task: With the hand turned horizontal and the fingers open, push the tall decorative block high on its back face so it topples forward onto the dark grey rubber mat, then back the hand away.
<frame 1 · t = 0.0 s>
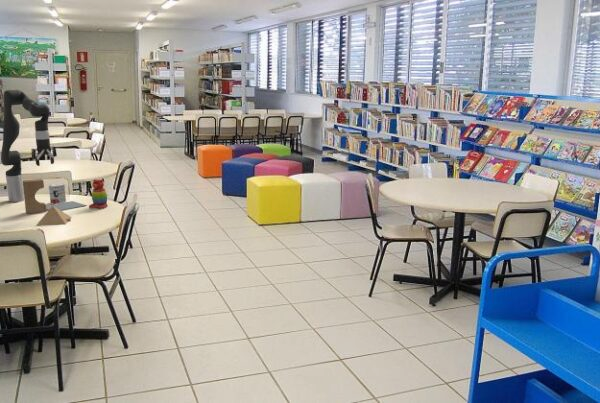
hand: (45, 164, 342), 29 cm above the table, tool pointing down, fingers open, 8 cm apart
stacking bear: (99, 207, 361), on the table
decorative block: (36, 212, 347), on the table
mat: (63, 206, 360), on the table
model pyramid: (55, 222, 327), on the table
ink box: (58, 202, 373), on the table
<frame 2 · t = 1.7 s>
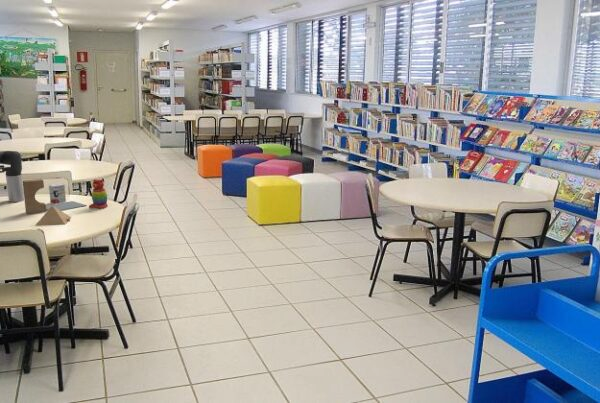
hand: (7, 167, 328), 30 cm above the table, tool horizontal, fingers open, 8 cm apart
nothing on the table moved.
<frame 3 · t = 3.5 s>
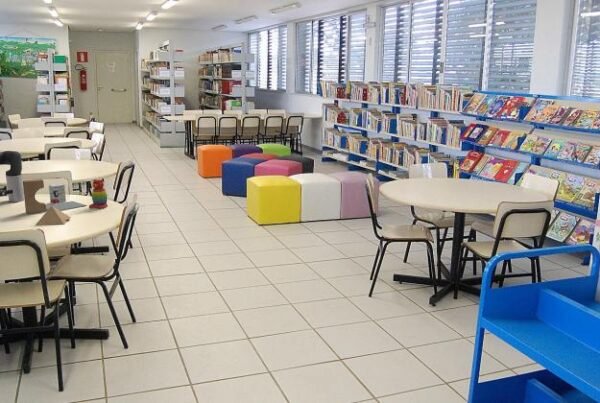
hand: (9, 190, 332), 16 cm above the table, tool horizontal, fingers open, 8 cm apart
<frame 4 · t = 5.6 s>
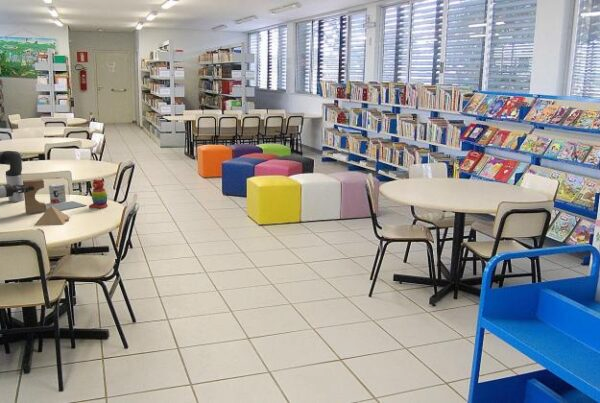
hand: (30, 187, 342), 16 cm above the table, tool horizontal, fingers open, 8 cm apart
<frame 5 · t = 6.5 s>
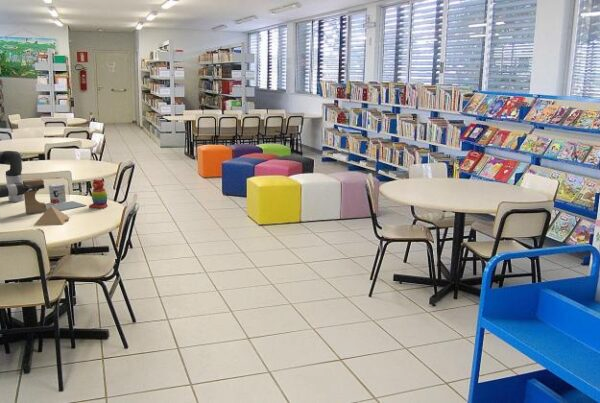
hand: (40, 185, 346), 16 cm above the table, tool horizontal, fingers open, 8 cm apart
decorative block: (36, 212, 347), on the table, touching gripper
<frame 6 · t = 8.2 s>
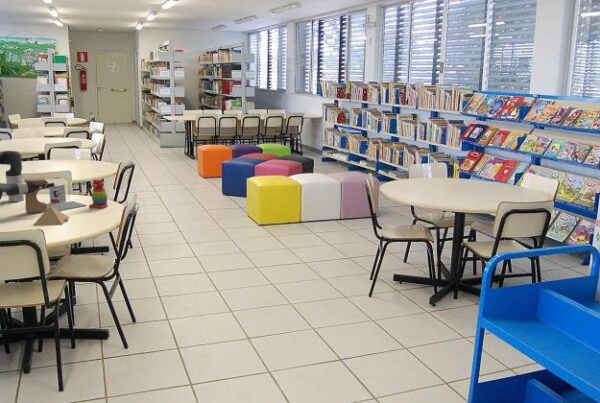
hand: (50, 183, 351), 16 cm above the table, tool horizontal, fingers open, 8 cm apart
decorative block: (36, 211, 347), on the table, touching arm
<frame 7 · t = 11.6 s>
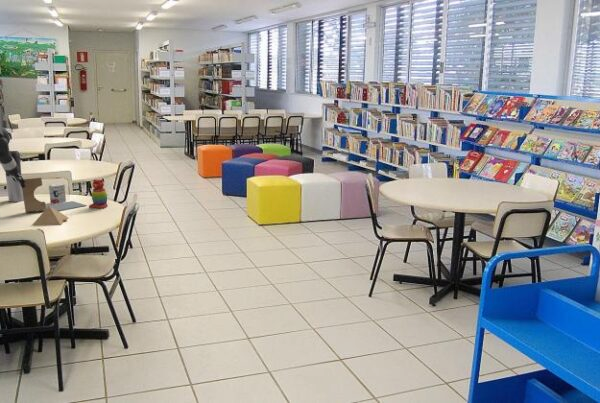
hand: (19, 183, 342), 18 cm above the table, tool tilted 35°, fingers open, 8 cm apart
decorative block: (35, 211, 347), on the table
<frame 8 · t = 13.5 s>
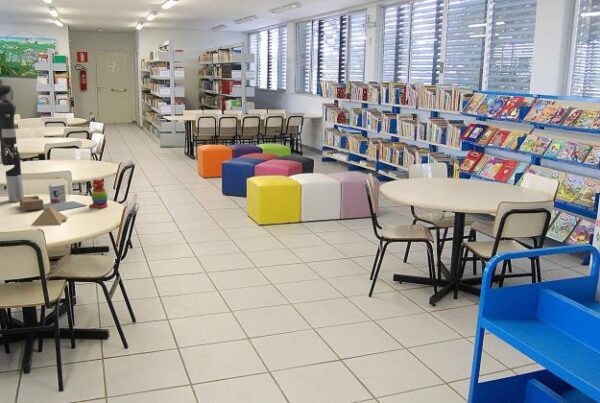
hand: (12, 162, 343), 30 cm above the table, tool pointing down, fingers open, 8 cm apart
decorative block: (33, 205, 349), point 4 cm above the table, touching mat
at the end: decorative block tilted 92°; decorative block touching mat, table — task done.
